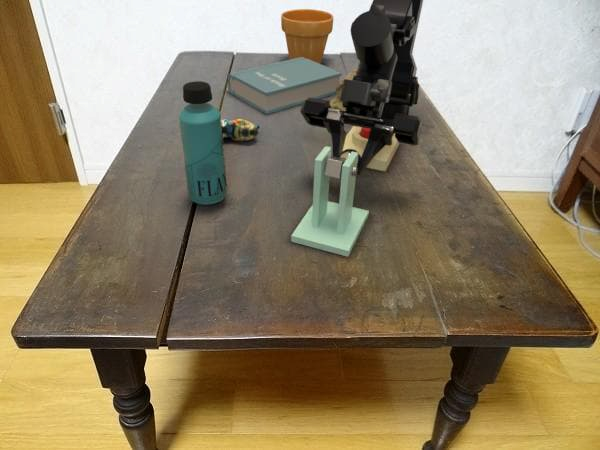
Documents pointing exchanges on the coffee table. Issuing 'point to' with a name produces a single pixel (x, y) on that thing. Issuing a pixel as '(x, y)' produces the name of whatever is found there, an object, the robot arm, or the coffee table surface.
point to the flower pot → (306, 33)
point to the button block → (359, 144)
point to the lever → (338, 163)
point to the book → (283, 84)
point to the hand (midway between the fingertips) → (346, 171)
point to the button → (365, 132)
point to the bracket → (332, 211)
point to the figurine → (239, 129)
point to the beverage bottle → (202, 145)
